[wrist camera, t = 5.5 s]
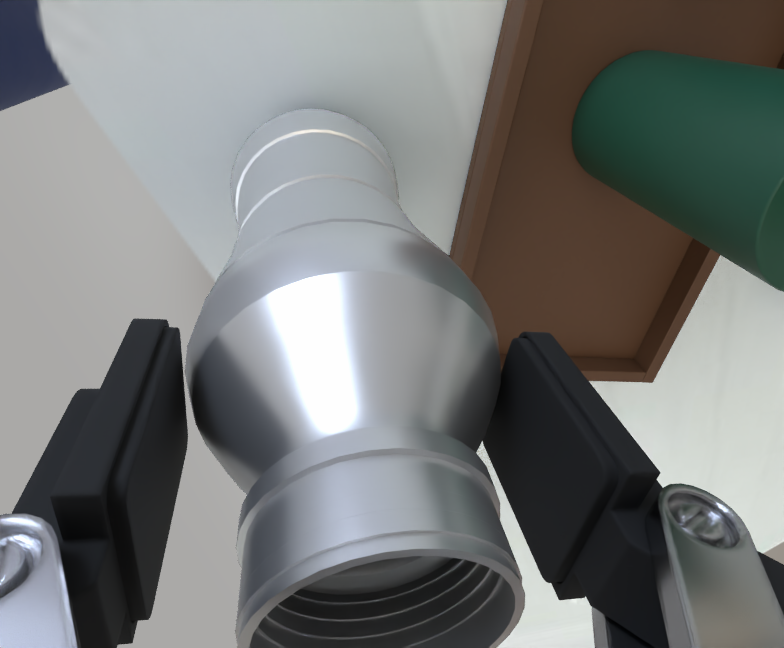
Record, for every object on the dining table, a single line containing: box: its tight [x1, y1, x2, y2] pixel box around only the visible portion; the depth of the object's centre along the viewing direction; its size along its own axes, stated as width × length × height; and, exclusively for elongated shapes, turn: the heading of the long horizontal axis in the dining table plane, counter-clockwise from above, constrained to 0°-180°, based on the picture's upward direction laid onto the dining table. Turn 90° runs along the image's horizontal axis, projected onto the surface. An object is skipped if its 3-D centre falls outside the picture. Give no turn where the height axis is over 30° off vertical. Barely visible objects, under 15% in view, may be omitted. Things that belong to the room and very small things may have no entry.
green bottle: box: [572, 50, 784, 292], centre depth 18 cm, size 6×6×17 cm
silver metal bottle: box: [185, 108, 525, 648], centre depth 15 cm, size 6×7×20 cm
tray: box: [449, 0, 784, 383], centre depth 24 cm, size 15×30×2 cm, turn 172°
